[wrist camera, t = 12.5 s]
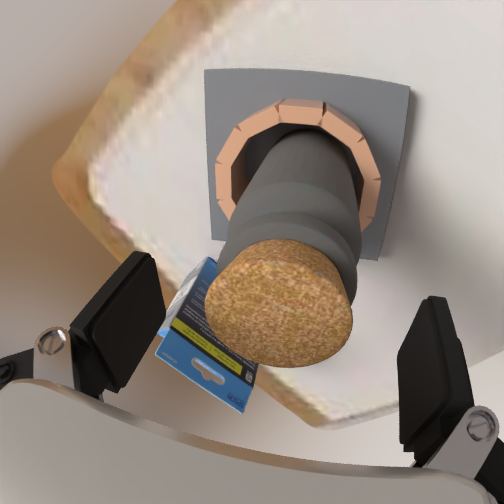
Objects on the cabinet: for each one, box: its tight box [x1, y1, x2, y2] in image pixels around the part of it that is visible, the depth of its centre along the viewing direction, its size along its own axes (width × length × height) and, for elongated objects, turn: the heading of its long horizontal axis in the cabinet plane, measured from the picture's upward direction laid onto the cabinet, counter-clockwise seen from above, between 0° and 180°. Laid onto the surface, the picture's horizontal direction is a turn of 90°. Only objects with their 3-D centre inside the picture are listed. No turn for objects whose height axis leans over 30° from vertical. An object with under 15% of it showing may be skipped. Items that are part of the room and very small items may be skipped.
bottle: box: [205, 129, 362, 368], centre depth 16 cm, size 6×6×15 cm
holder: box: [204, 68, 410, 261], centre depth 21 cm, size 14×14×6 cm
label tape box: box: [155, 257, 259, 414], centre depth 27 cm, size 9×4×12 cm, turn 48°
